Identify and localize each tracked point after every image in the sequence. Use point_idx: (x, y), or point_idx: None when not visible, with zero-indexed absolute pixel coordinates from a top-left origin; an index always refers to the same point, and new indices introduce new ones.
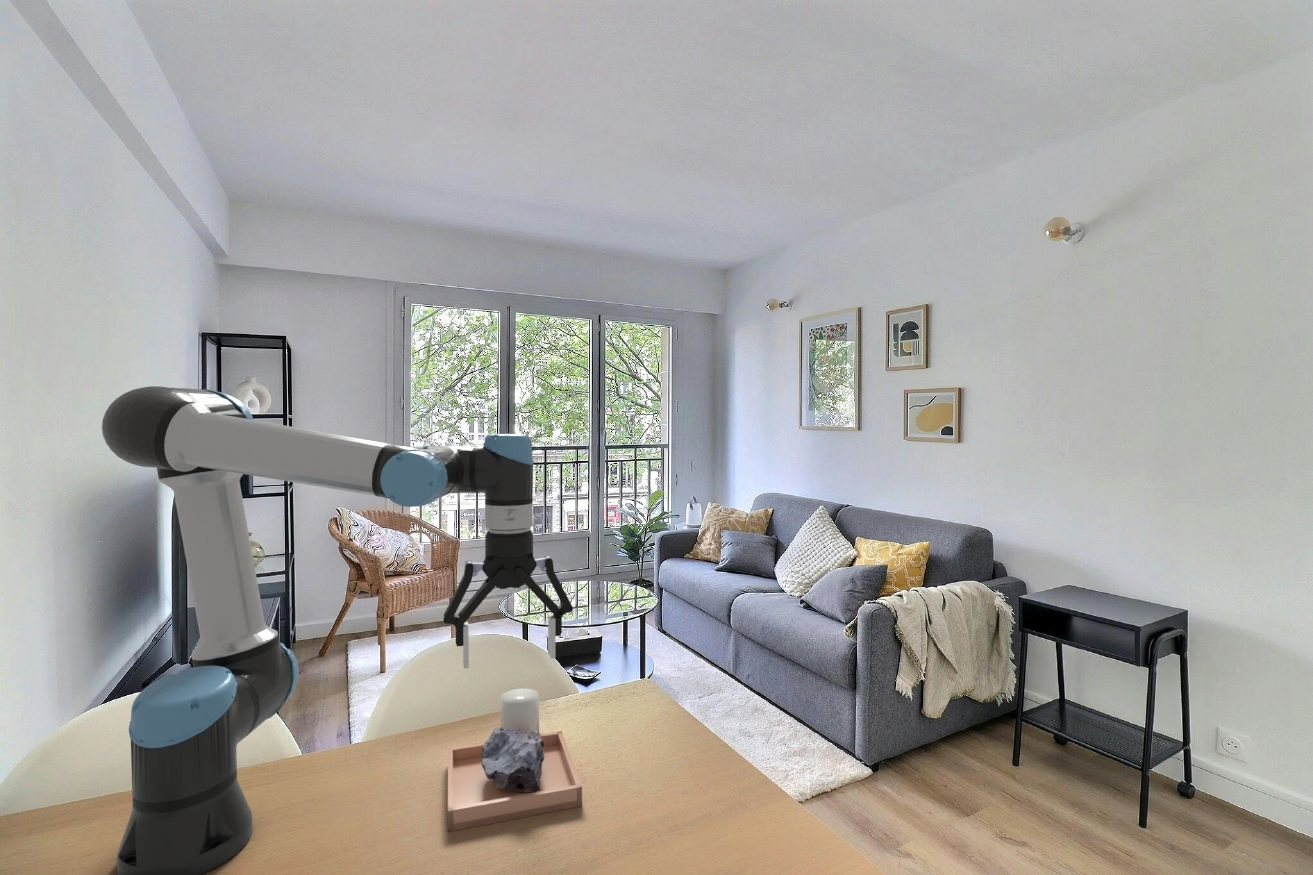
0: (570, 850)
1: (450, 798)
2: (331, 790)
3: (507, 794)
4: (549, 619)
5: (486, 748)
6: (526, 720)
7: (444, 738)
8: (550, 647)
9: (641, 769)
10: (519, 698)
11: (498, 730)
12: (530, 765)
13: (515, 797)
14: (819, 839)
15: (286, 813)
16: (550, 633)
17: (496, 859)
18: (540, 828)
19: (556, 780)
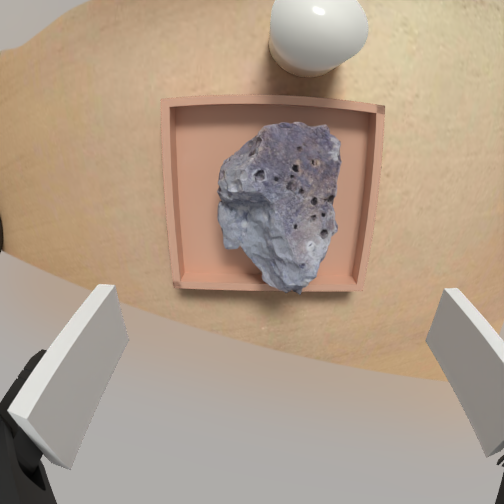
0: (314, 342)
1: (174, 260)
2: (33, 139)
3: None
4: (502, 424)
5: (225, 197)
6: (324, 69)
7: (167, 8)
8: (443, 359)
9: (451, 222)
10: (319, 30)
11: (251, 181)
12: (297, 289)
13: (267, 287)
14: None
15: (10, 180)
16: (466, 401)
17: (236, 333)
18: (293, 302)
19: (339, 225)
